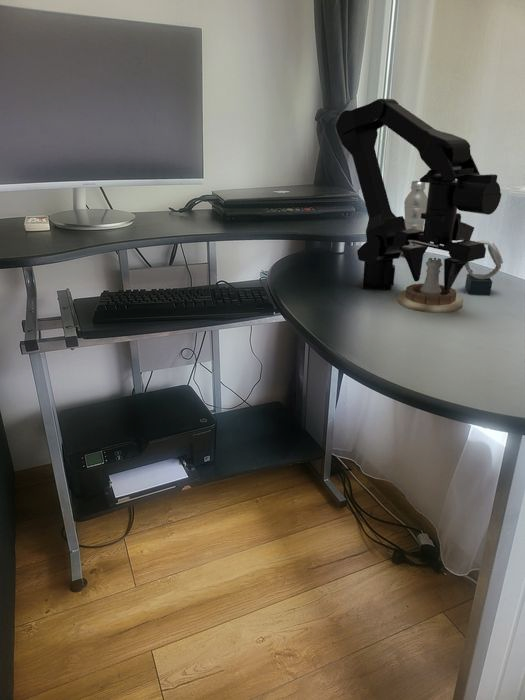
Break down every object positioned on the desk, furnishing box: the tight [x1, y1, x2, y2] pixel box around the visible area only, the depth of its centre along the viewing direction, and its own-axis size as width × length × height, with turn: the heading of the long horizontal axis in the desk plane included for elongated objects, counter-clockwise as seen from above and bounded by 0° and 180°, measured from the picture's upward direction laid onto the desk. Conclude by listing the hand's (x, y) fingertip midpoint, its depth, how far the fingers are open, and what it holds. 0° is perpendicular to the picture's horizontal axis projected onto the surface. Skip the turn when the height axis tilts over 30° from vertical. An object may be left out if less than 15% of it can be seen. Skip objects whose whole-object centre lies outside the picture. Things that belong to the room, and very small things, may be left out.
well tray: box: [397, 282, 464, 314], centre depth 107 cm, size 13×13×3 cm
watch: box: [464, 240, 504, 296], centre depth 112 cm, size 6×8×11 cm
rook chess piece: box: [419, 257, 444, 296], centre depth 105 cm, size 4×4×8 cm
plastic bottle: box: [401, 180, 428, 255], centre depth 141 cm, size 6×7×20 cm
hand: (431, 285), depth 106 cm, fingers open, 8 cm apart
